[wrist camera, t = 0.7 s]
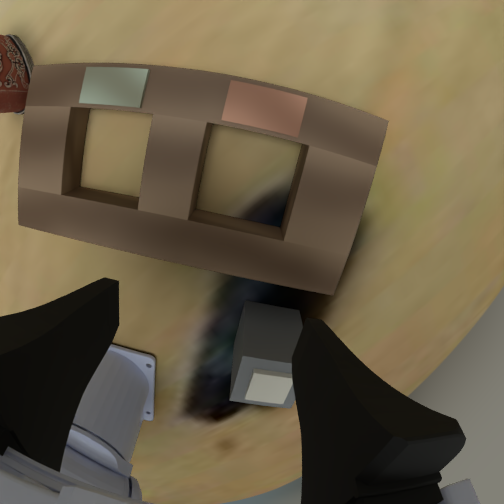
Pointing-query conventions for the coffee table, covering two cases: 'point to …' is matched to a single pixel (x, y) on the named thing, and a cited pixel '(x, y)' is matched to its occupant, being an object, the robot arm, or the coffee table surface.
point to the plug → (265, 355)
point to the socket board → (198, 170)
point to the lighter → (14, 74)
